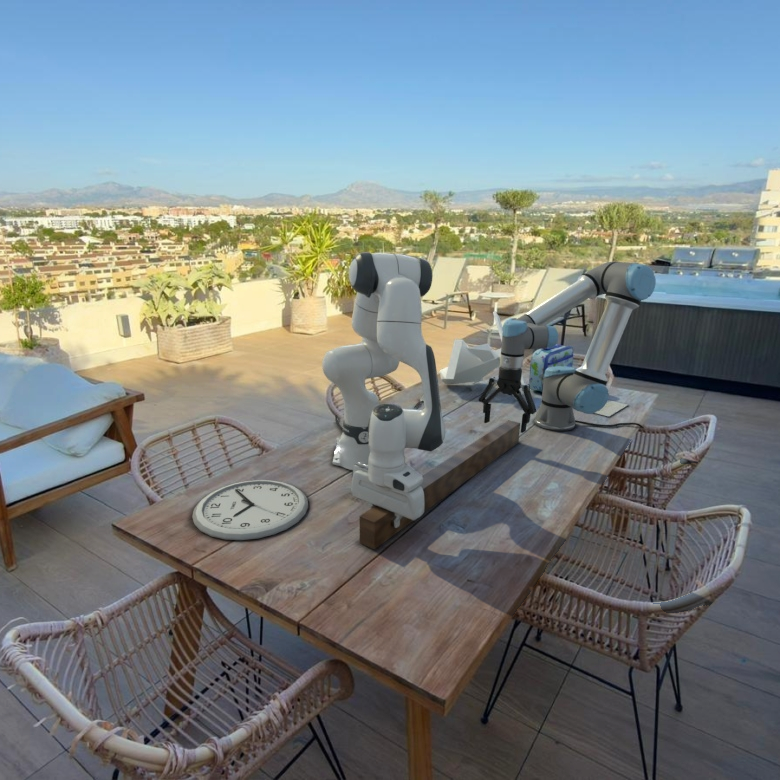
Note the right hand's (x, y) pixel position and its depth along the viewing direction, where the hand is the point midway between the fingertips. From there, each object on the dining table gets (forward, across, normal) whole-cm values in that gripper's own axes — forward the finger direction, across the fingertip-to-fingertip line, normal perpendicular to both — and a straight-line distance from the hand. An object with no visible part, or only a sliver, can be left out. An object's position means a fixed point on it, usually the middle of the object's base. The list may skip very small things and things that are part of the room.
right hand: (504, 426), depth 180 cm
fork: (+8, -49, +21) cm, 53 cm away
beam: (+8, 0, -34) cm, 35 cm away
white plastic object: (+7, -36, +52) cm, 64 cm away
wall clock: (+9, -35, -81) cm, 89 cm away
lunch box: (+7, -13, +78) cm, 80 cm away
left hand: (+6, 0, -68) cm, 68 cm away
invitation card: (+7, +15, +68) cm, 69 cm away
